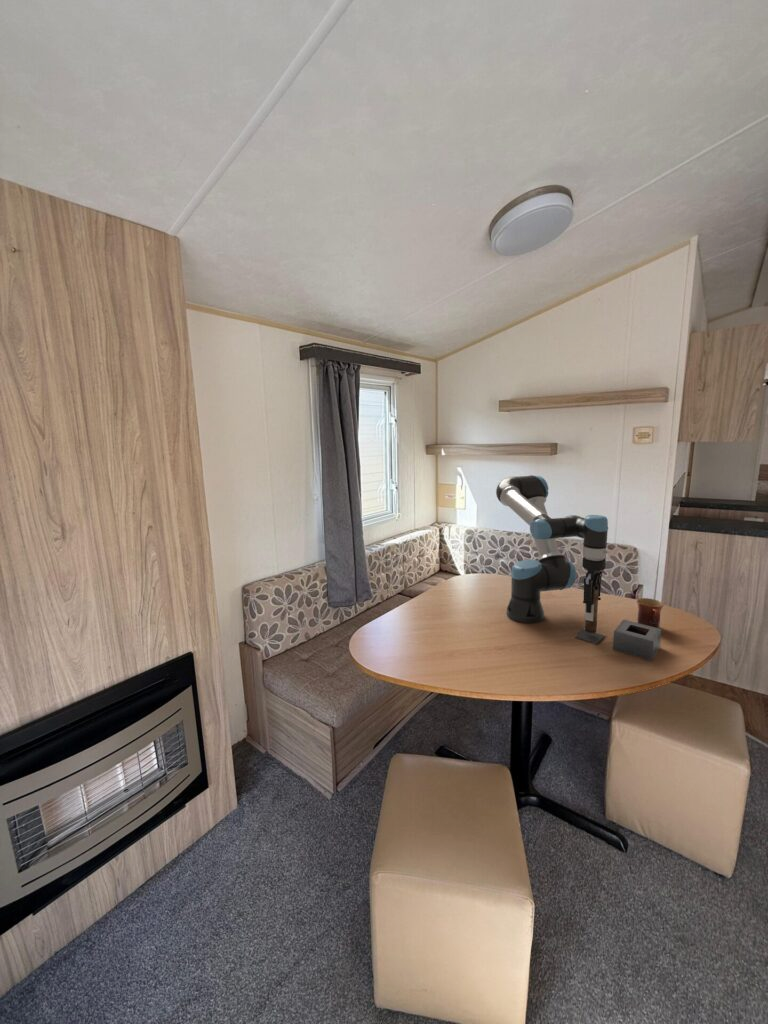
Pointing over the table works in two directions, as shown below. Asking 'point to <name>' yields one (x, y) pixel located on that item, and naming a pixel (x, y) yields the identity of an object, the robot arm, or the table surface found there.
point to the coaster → (589, 637)
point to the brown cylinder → (591, 625)
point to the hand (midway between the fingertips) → (590, 618)
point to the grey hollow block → (637, 639)
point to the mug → (649, 612)
